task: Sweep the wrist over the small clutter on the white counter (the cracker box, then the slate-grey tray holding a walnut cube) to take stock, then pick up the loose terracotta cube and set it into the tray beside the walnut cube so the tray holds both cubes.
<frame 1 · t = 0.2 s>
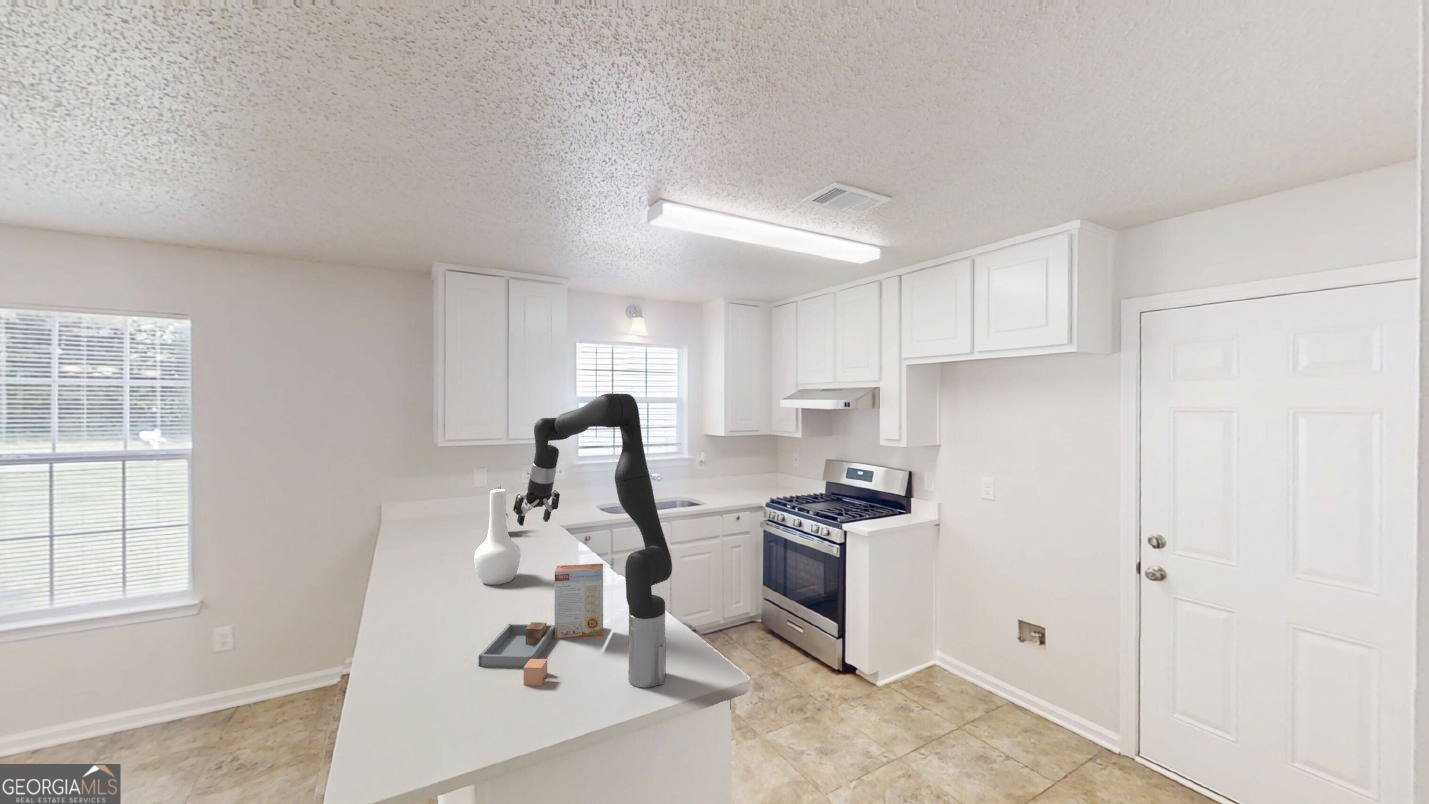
hand: (533, 522, 176), 31 cm above the counter, tool tilted 20°, fingers open, 8 cm apart
slate tray: (519, 651, 154), on the counter
vase: (497, 580, 212), on the counter
staircase: (496, 536, 279), on the counter
cracker box: (579, 636, 164), on the counter
walnut cube: (536, 640, 158), point 1 cm above the counter, touching slate tray
terracotta cube: (535, 680, 138), on the counter
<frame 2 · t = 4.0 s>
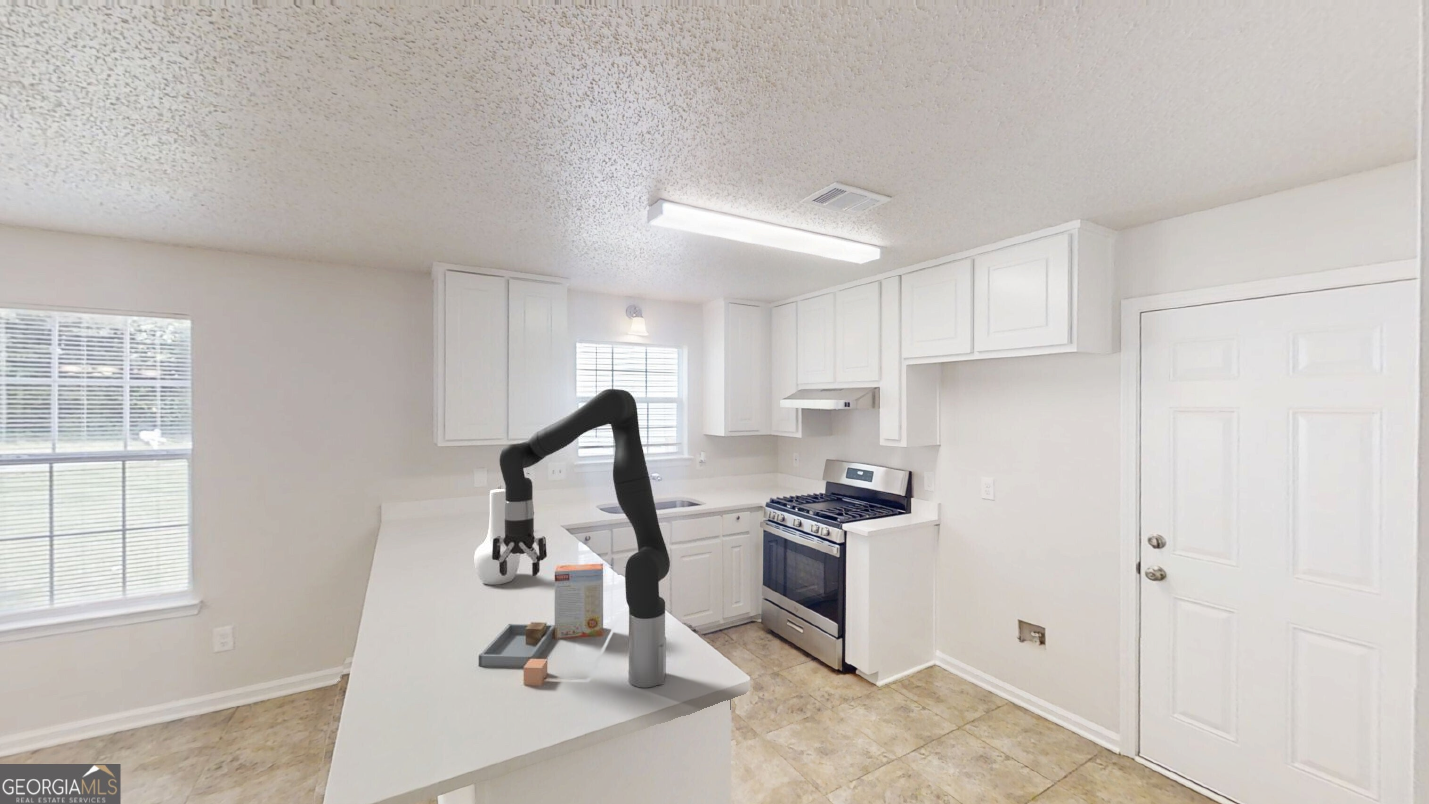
hand: (519, 575, 149), 23 cm above the counter, tool pointing down, fingers open, 8 cm apart
nothing on the counter moved.
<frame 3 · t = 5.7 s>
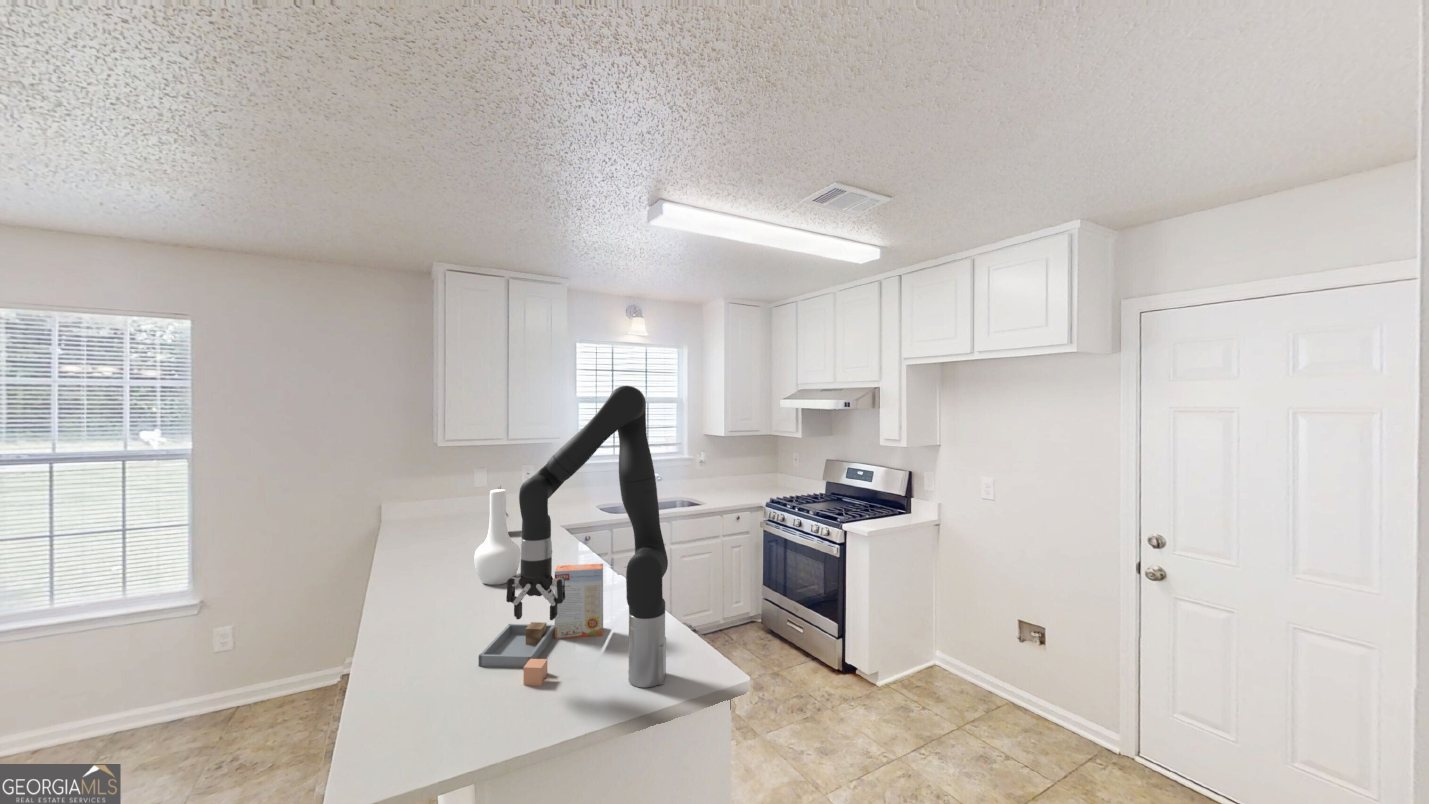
hand: (535, 618, 138), 16 cm above the counter, tool pointing down, fingers open, 8 cm apart
nothing on the counter moved.
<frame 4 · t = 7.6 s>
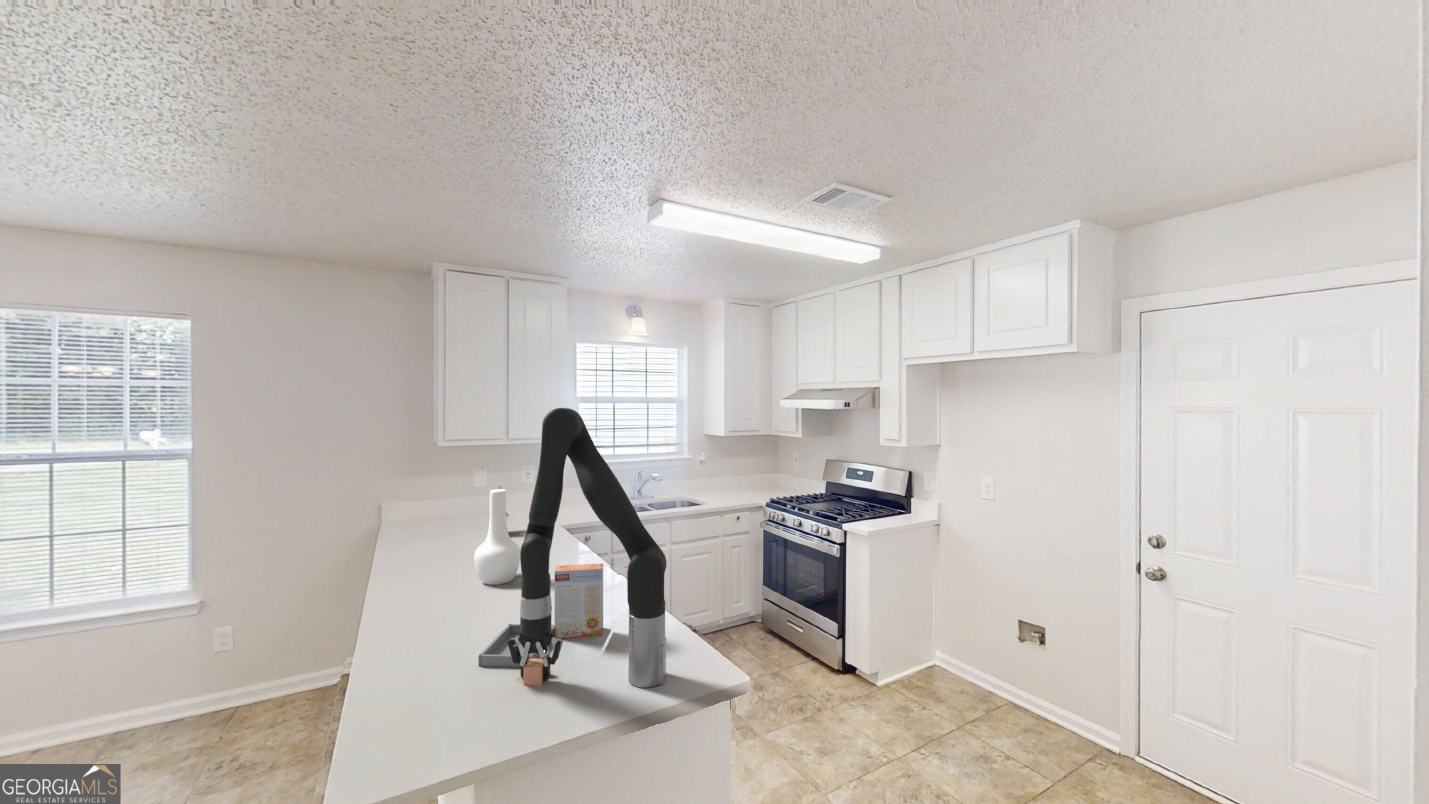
hand: (535, 678, 138), 0 cm above the counter, tool pointing down, fingers closed on terracotta cube, 4 cm apart
terracotta cube: (535, 680, 138), on the counter, touching gripper
everything else where it was.
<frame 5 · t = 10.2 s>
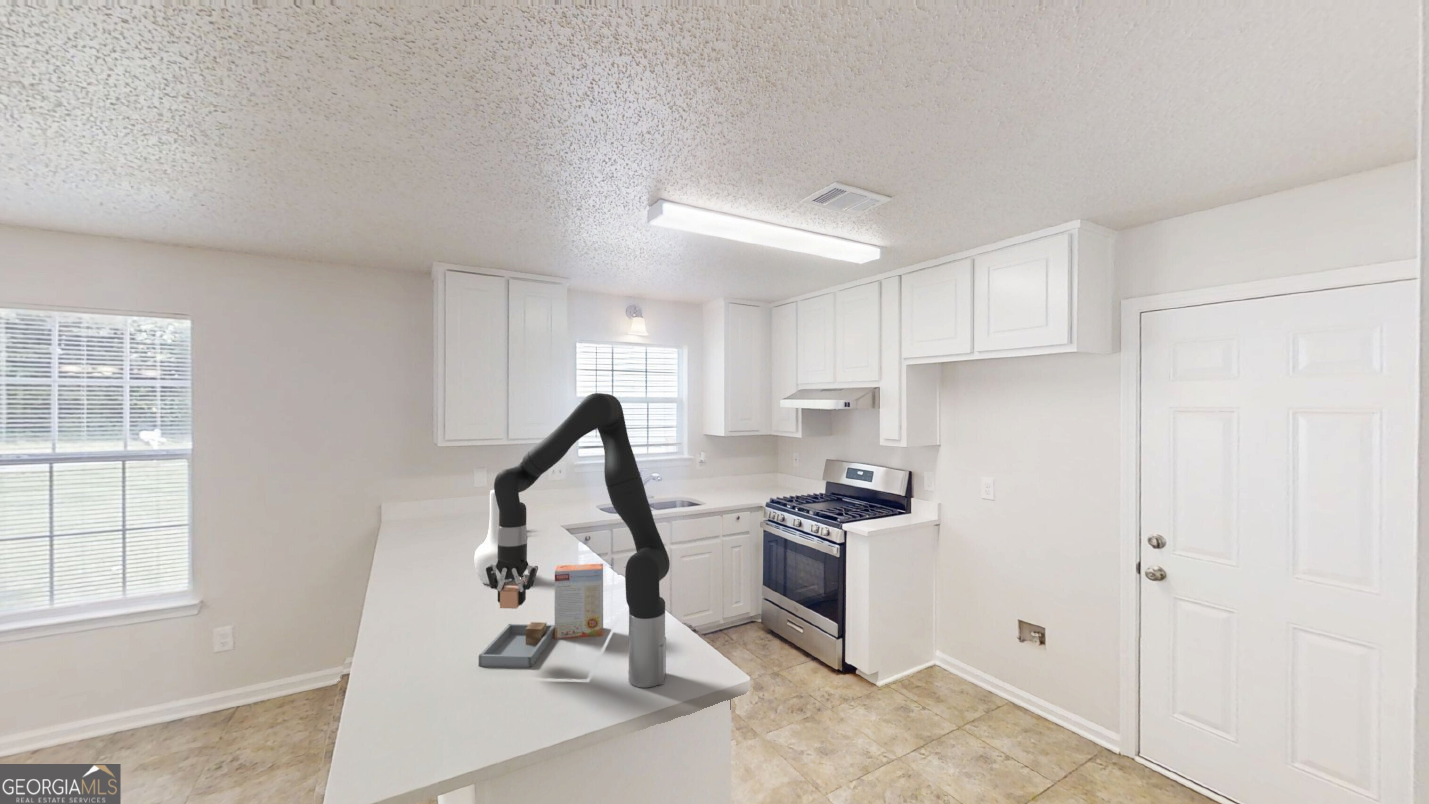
hand: (511, 603, 148), 16 cm above the counter, tool pointing down, fingers closed on terracotta cube, 4 cm apart
terracotta cube: (511, 605, 148), point 15 cm above the counter, touching gripper
everything else where it was.
when the fingers open (3 cm above the counter, at t = 13.0 s): terracotta cube drops 2 cm, resting on slate tray.
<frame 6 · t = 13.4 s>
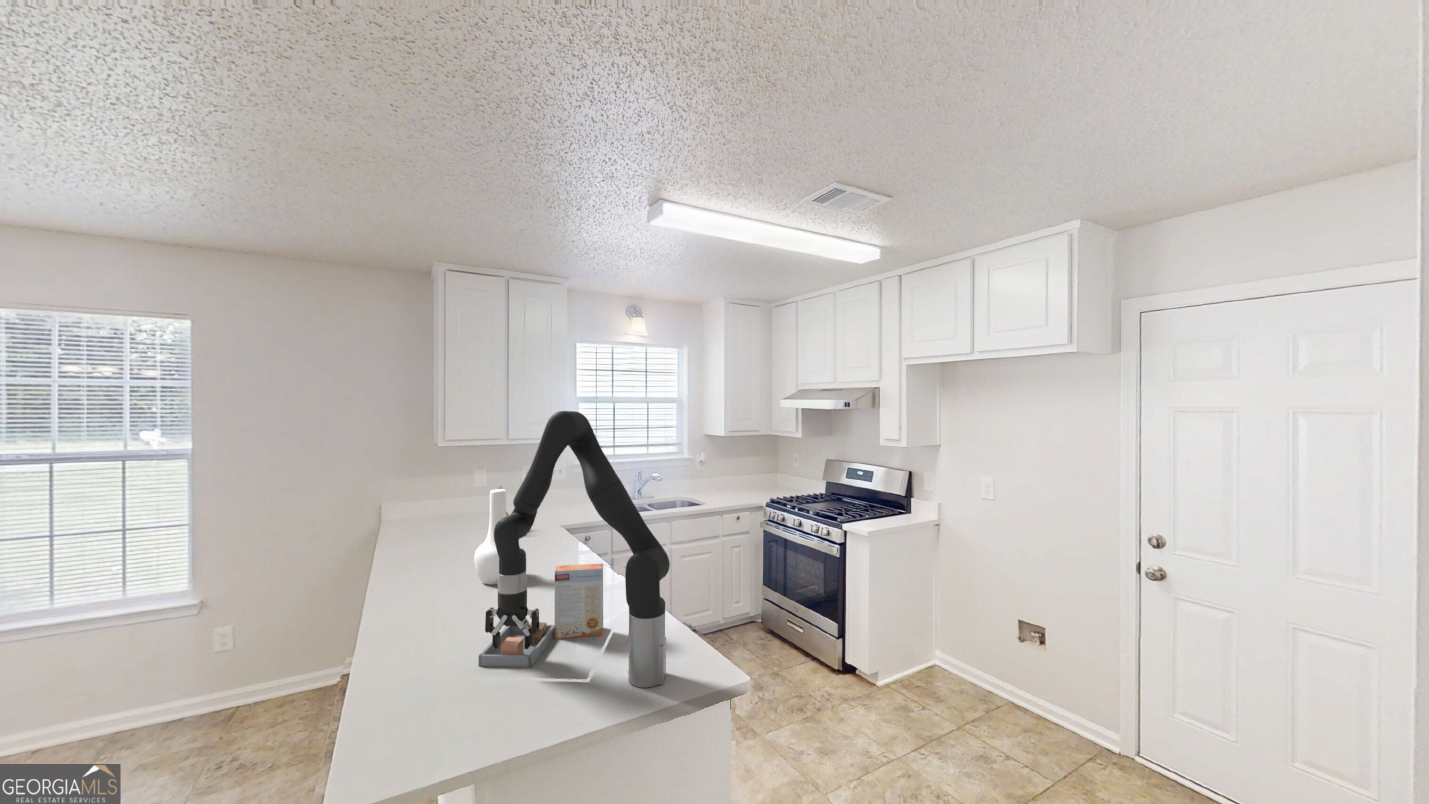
hand: (512, 647, 149), 4 cm above the counter, tool pointing down, fingers open, 8 cm apart
terracotta cube: (512, 657, 149), point 1 cm above the counter, touching slate tray
everything else where it was.
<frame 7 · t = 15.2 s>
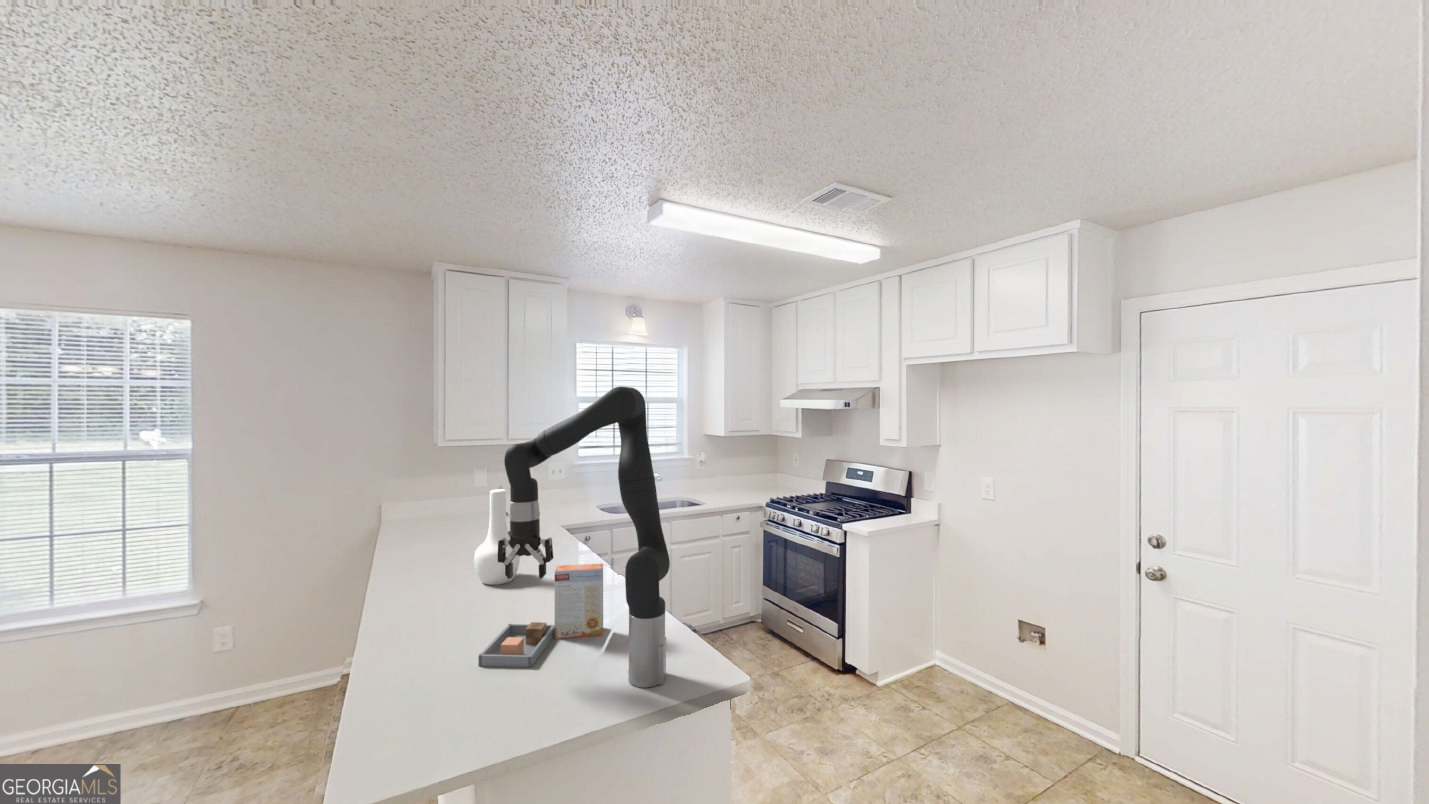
hand: (526, 577, 146), 23 cm above the counter, tool pointing down, fingers open, 8 cm apart
nothing on the counter moved.
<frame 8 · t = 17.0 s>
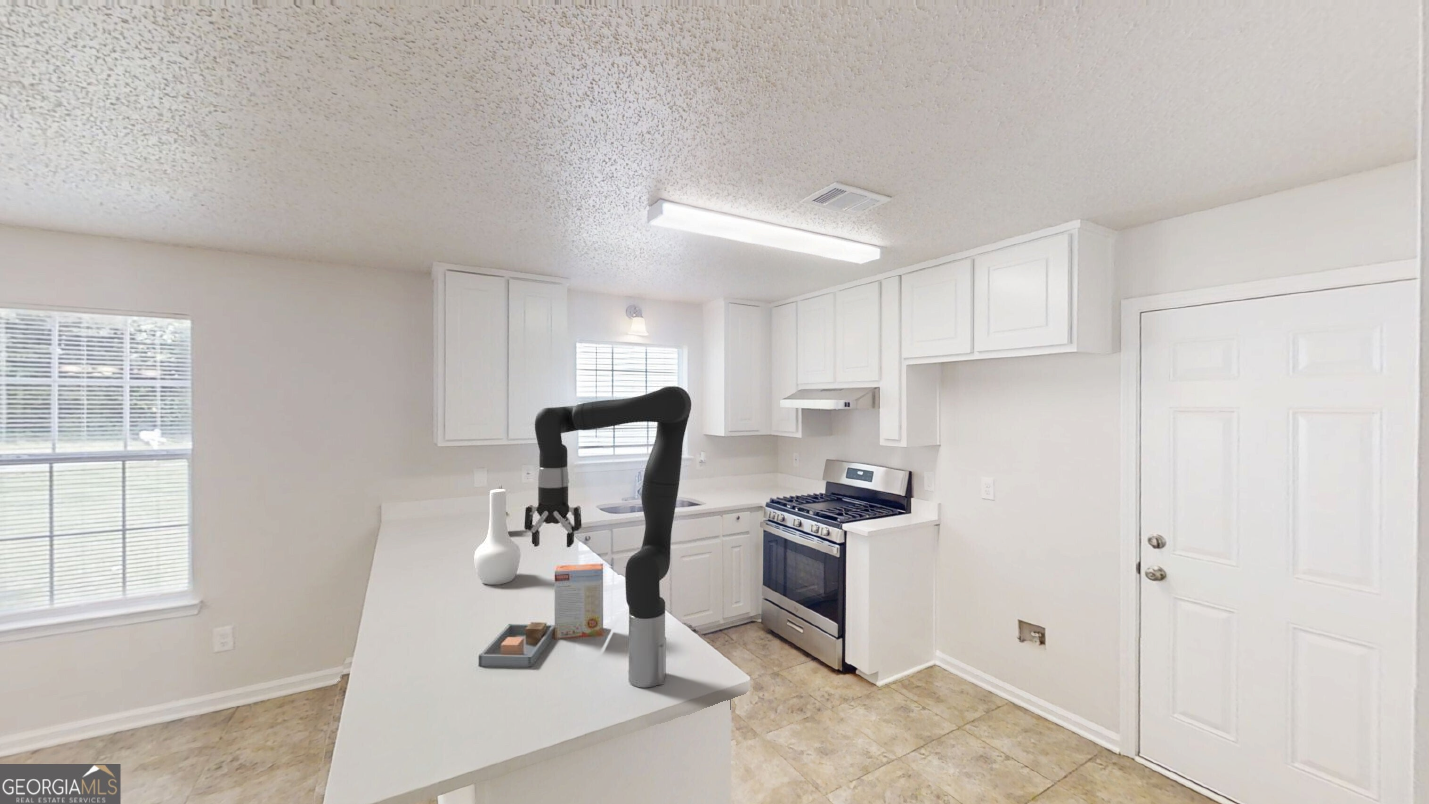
hand: (553, 546, 142), 33 cm above the counter, tool pointing down, fingers open, 8 cm apart
at the end: terracotta cube inside the target area on the slate tray (5.0 cm from its centre), point 0.8 cm above the slate tray's base; the gripper is holding nothing; walnut cube moved 0.0 cm from its start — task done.
